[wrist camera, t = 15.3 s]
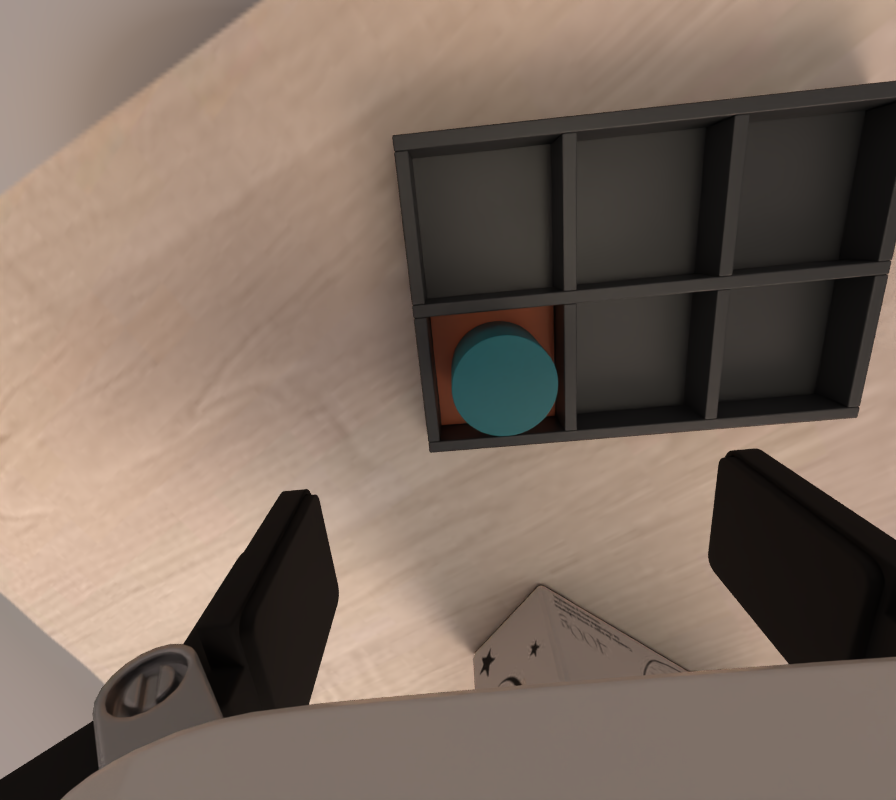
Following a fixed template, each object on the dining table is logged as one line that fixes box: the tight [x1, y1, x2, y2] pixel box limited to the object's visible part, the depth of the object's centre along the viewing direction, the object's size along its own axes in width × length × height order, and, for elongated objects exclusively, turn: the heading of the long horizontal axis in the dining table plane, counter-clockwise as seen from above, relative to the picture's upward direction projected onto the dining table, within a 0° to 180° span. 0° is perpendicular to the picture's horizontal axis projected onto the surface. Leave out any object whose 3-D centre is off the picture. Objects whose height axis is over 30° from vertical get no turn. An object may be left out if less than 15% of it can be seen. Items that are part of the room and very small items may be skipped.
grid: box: [392, 81, 896, 453], centre depth 22 cm, size 14×21×3 cm
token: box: [451, 321, 558, 436], centre depth 22 cm, size 5×5×4 cm
